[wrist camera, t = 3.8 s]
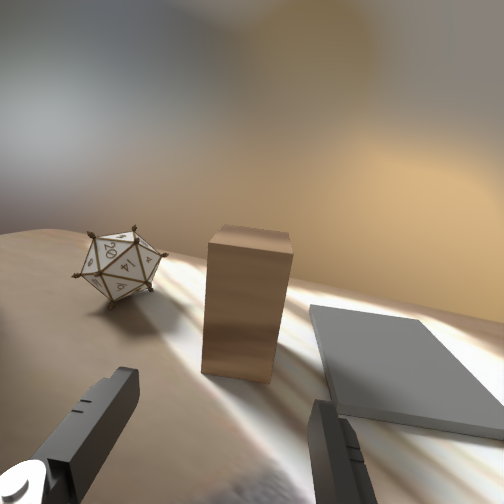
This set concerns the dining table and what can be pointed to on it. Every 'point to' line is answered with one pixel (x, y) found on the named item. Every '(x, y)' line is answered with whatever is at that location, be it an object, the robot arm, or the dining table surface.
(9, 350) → the dining table surface
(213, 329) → the walnut block
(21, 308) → the dining table surface
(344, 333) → the rubber mat
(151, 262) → the game die
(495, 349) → the dining table surface
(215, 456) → the dining table surface
